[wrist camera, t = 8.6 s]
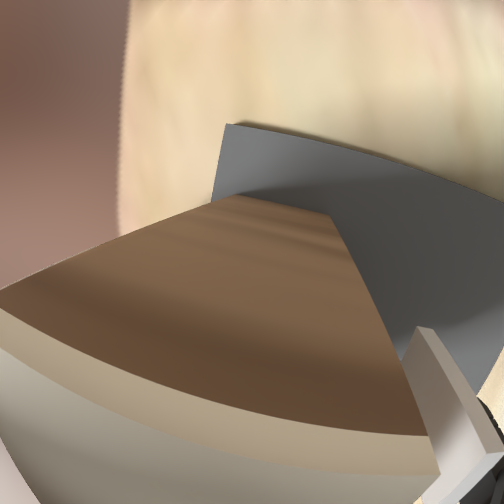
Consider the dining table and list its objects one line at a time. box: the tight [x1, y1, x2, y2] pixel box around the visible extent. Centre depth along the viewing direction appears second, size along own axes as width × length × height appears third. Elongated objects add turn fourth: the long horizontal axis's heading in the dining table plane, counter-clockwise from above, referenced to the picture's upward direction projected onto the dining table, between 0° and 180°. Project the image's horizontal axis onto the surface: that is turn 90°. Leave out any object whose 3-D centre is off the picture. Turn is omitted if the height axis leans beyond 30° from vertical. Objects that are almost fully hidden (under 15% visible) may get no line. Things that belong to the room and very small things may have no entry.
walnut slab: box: [0, 194, 441, 504], centre depth 8 cm, size 8×4×12 cm, turn 168°
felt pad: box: [211, 124, 504, 395], centre depth 14 cm, size 14×17×1 cm
